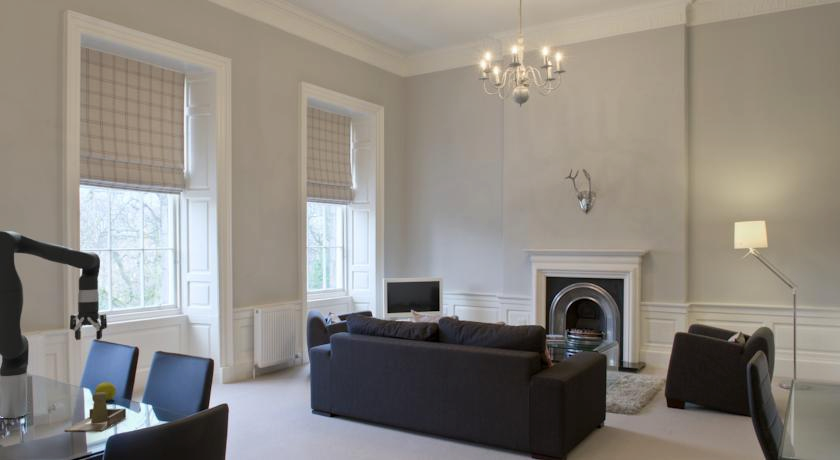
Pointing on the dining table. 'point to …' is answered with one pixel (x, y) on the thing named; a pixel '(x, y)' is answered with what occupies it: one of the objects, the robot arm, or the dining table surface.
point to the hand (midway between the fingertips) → (88, 339)
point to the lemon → (106, 390)
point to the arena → (86, 424)
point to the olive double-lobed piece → (99, 408)
